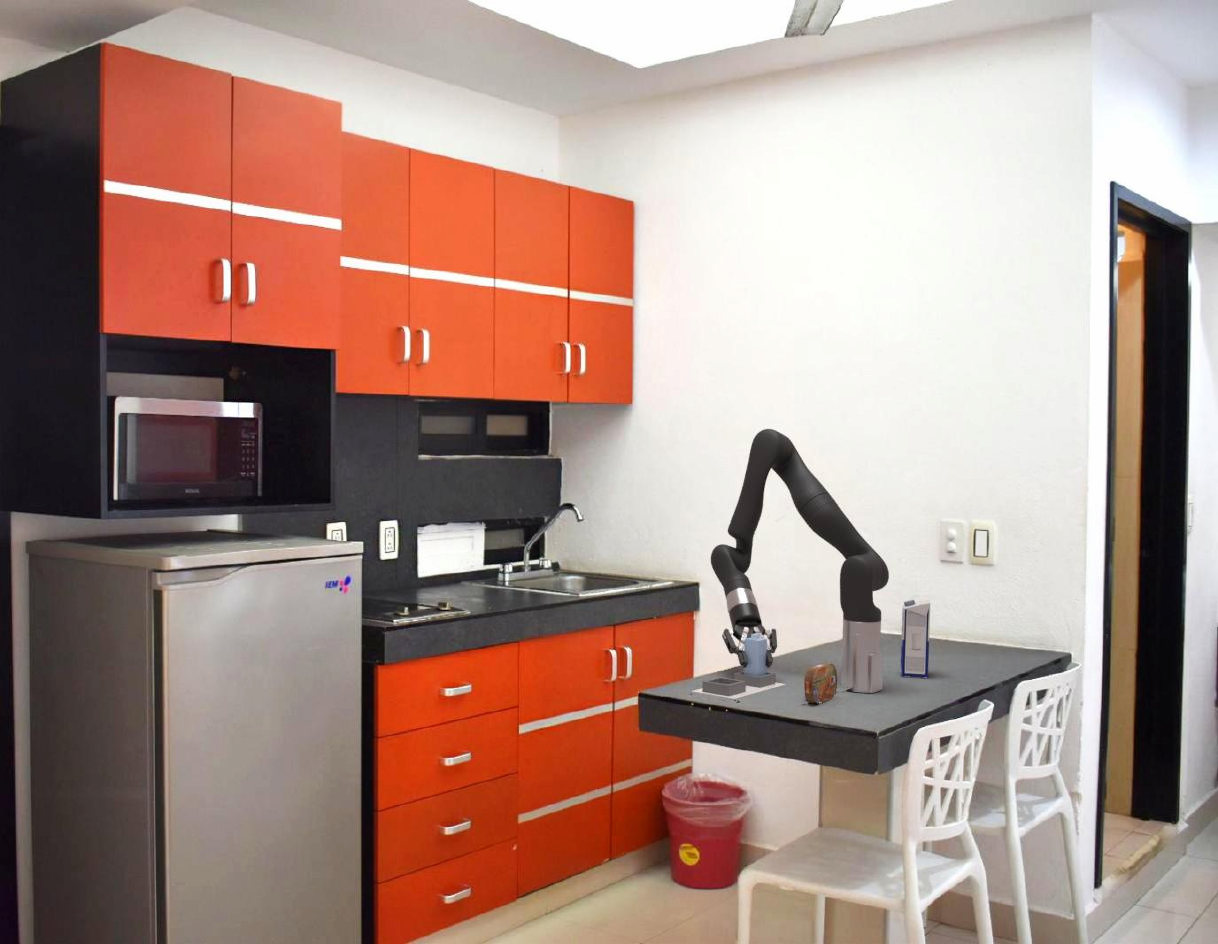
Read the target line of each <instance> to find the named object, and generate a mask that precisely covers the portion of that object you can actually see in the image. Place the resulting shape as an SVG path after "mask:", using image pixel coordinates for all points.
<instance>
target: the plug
mask: <svg viewBox="0 0 1218 944" xmlns="http://www.w3.org/2000/svg"><path fill="white" fill-rule="evenodd" d="M760 636H761V634H758V633H755V634H751V638H746V639H745V641H744V649H743V651H745V654H746V658H747V662H748V664H747V667H746V668H743V671H744V674H746V675H752V676H758V677H760V676H763V675H766V672H767V666H766V652H767V643H768V638H765V639H763V638H760Z"/></svg>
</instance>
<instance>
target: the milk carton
mask: <svg viewBox="0 0 1218 944" xmlns="http://www.w3.org/2000/svg"><path fill="white" fill-rule="evenodd" d="M901 611H902V614H901V617H902V618H901V642H900V643H901V647H900V671H901V672H900V677H901V676H910V677H928V678H929V660H930V659H929V656H930V655H929V651H930V627H931V626H930V624H931V601H930V600H929V599H927V600H920V601H919V600H918V601H915V599H910V600H906V601H904V602H903V605H902V610H901ZM910 677H909V678H910Z"/></svg>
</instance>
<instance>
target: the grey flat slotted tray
mask: <svg viewBox="0 0 1218 944" xmlns="http://www.w3.org/2000/svg"><path fill="white" fill-rule="evenodd" d="M776 675H777V674H776V673H774V672H768V671H766V675H763V676H760V677H758V676H752V675H746V674H744V670H741V671H738V672H737V671H736V672H734V673H733V678H730V677H729V678H727V677H721V676H717V677H714V678H710V679H707V680H702V687H701V688H697V689H695V690H692V691H691V692H692V693H698V694H703V695H709V696H715V697H720V698H724V699H729V700H733V701H736V700H737V699H739V698H742V697H746V696H750V695H753V694H754V695H755V694H757V693H760V692H765V691H767V690H771V689H775V688H778V687H781V686H786V685H787V684H786V683H781V682H776Z"/></svg>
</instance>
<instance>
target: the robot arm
mask: <svg viewBox="0 0 1218 944" xmlns="http://www.w3.org/2000/svg"><path fill="white" fill-rule="evenodd" d="M799 453H800V452H798V450H797V448H796V446H795V445H794V443H793V441H792V440H791V439H790V438H789V437H788V436H787V435H785V434H783V433H782V432H779V431H777V430H775V429H773V428H764V429H762V430H760V431H759V432H757V433H756V435H755V436H754V438H753V440H752V442H751V446H750V450H749V454H748V461H747V465H746V469H745V470H746V471H745V474H744V478H743V483H742V487H741V490H740V494H739V497H738V500H737V502H736V506H735V508H734V511H733V514H732V517H731V520H730V523H729V525H728V527H727V533H728V535H729V536H730V537H732V539H734V540H735V547H734V546H731V545H728V544H723V543H721V544H717V545H716V546H714V548H713V549H712V550H711V551H712V552H711V554H710V564H711V565H710V566H711V569H712V570H713V572H714V574H715V576H716V577H717V580H718V582H719V583H720V584H721V586H722V588H723V592H724V596H725V600H726V607H727V613H728V616H729V620H730V623H731V628H732V629H730V630H729V629H728V628H724V629H723V633H722V635H721V636H722V639H723V642H724V644H725V647H726V649H727V651H728V653H729V654H730V655H733V654H735V655H736V656H737V658H738V659H737V660H738V662H739V665H740V666H741V667H742V669H744V668H746V667H747V664H748V662H747V658H746V654H745V651H744V641H745V639H746V638H751V634H755V633H758V634H761V636H760V638H763V639H767V640H769V643H768V642H767V652H766V669H767V668H771V666H772V665H773V663H774V658H773V655H772V654H775V652H776V650H777V648H778V638H777V635H778V634H777V629H776V628H771V629H766V628H765V627H764V626H763V622H762V619H761V617H762V616H761V614H760V611H759V607H758V603H757V600H756V597H755V594H754V592H753V589H752V585H751V581H750V578H749V577H748V575H746V573H747V571H749V569H750V566H751V563H752V555H753V554H752V553H753V544H754V537H755V533H756V531H757V529H758V525H759V522H760V520H761V517H762V513H763V508H764V500H765V499H764V496H765V488H766V483H767V479H768V477H769V474H770V472H771V469H772V470H773V472H775V474H777V476H778V477H779V478H780V479H781V481H782V482H783V483H784V485H785V486H786V488H787V489H788V491H789V494H790V496H791V501H792V502H793V505H794V507H795V509H796V511H797V512H798V514H799V515H800V517H801V518H802V519H803V521H804V522H805V523H806V525H807V526H808V527H809V528H810V529H811V531H812V532H813V533H815V534H816V536H818V537H819V538H821V539H822V540H824V541H825V542H827V544H829V545H830V546H832V547H833V548H834V549H836V550H837V551H838V552H839V553H840V554H841V555H842V556H843V558H844V561H843V563H842V564H841V568H840V573H839V602H840V604H839V605H840V608H841V610H842V611H841V612H842V637H841V638H842V641H841V642H842V643H841V674H840V675H841V676H840V685H841V687H844V688H847V689H846V691H847V692H855V693H866V694H867V693H869V694H874V693H877V692H880V691H883V683H884V682H883V679H884V678H883V677H884V674H883V673H884V672H883V671H884V651H882V650H881V639H882V638H881V636H882V635H881V634H882V633H881V632H882V610H881V609H880V608H879V607H878V606H876V605H875V603H874V595H873V593H874V592H876V591H877V592H878V591H880V590H882V589H884V588H886V586H887V585H888V582H889V579H890V573H889V569H888V566H887V563H886V562H885V561H884V559H883V557H881V555H880V554H879V553H878V552H877V551H876V550H875V549H874V548H873V547H872V546H871V545H870V544H869V543H868V542H867V540H865V539H864V537H863V536H862V535H861V534H860V533H859V531H858V530H857V529H856V527H855V526H854V525H853V523H852V522H851V520H850V519H849V518H848V516H847V515H846V514H845V513H844V511H843V510H842V508H841V507H840V505H839V504H838V503H837V502H836V500H835V499H834V497H832V496H833V495H831V494H830V492H829V491H828V490H827V489H826V488H825V487H824V485H823V484H822V483H821V481H819V479H818V478H817V477H816V476H815V475H814V473H812V472H811V471H810V469H809V468H808V466H807V465H806V463H805V462H804V461H803V458H802V457H801V454H799ZM765 636H766V637H765ZM733 637H735V639H736V640H738V645H736V642H735V641H734V640H735V639H734V638H733Z"/></svg>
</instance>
